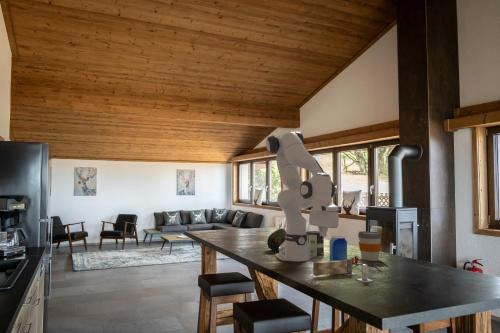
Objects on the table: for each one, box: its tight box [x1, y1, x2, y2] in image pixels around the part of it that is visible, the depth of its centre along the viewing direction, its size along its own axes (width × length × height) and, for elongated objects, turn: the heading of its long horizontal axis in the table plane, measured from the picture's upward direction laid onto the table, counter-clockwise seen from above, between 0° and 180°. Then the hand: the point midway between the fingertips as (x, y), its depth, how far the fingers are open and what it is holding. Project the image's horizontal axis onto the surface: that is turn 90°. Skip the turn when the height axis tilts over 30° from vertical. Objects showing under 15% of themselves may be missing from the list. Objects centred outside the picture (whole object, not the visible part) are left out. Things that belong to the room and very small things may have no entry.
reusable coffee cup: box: [357, 230, 382, 262], centre depth 214 cm, size 13×13×15 cm
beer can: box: [329, 235, 348, 261], centre depth 188 cm, size 8×8×16 cm
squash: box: [266, 228, 287, 253], centre depth 239 cm, size 14×15×15 cm
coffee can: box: [306, 230, 325, 259], centre depth 223 cm, size 10×10×14 cm
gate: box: [312, 258, 353, 277], centre depth 175 cm, size 20×3×6 cm, turn 112°
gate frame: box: [340, 263, 374, 284], centre depth 172 cm, size 18×6×7 cm, turn 22°
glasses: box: [351, 255, 389, 273], centre depth 193 cm, size 14×16×5 cm
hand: (323, 236), depth 179 cm, fingers closed
